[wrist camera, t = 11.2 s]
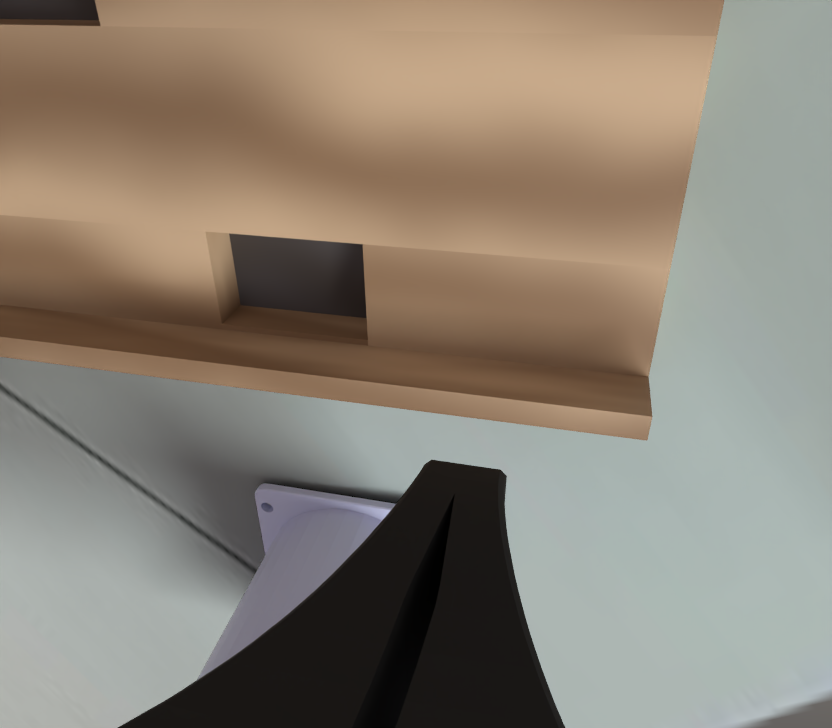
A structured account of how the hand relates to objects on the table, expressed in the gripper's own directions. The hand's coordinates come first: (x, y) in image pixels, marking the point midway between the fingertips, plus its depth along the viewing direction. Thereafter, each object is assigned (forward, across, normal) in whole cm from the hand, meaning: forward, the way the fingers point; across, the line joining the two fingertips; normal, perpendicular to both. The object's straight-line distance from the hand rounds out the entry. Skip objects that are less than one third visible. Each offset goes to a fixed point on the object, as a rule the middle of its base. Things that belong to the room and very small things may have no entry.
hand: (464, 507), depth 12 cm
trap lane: (+10, +11, -4) cm, 15 cm away
